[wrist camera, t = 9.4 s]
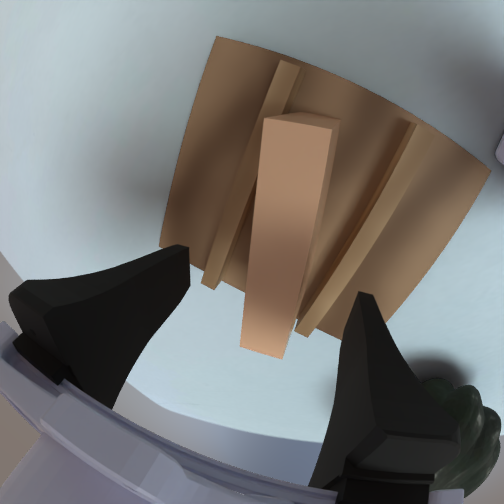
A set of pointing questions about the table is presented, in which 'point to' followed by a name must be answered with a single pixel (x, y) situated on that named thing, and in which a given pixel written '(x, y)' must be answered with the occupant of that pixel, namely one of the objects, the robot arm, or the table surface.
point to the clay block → (286, 224)
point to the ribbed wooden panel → (340, 188)
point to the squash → (467, 436)
